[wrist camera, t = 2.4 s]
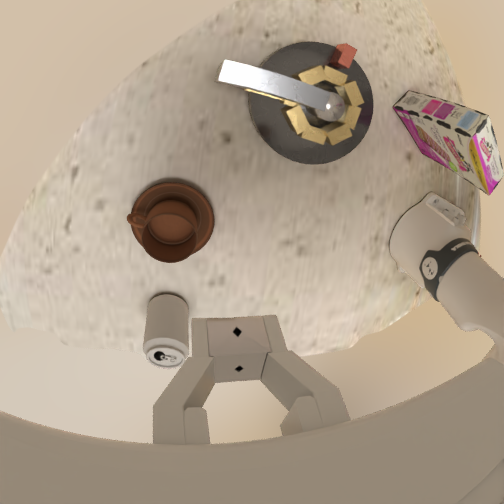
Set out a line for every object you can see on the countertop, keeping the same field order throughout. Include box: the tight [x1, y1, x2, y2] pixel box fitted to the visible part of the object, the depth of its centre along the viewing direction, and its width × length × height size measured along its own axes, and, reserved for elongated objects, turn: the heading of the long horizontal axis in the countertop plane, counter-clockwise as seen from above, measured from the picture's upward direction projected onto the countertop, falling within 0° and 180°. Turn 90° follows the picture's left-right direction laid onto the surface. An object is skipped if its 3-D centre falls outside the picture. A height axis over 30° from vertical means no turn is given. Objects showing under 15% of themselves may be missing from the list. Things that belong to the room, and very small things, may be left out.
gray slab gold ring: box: [215, 60, 364, 146], centre depth 25 cm, size 18×10×9 cm, turn 74°
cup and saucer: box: [127, 183, 214, 263], centre depth 36 cm, size 12×12×6 cm
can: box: [143, 294, 189, 369], centre depth 43 cm, size 8×8×12 cm
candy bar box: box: [393, 91, 504, 195], centre depth 28 cm, size 11×5×16 cm, turn 49°
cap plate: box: [249, 42, 373, 164], centre depth 29 cm, size 17×17×6 cm
